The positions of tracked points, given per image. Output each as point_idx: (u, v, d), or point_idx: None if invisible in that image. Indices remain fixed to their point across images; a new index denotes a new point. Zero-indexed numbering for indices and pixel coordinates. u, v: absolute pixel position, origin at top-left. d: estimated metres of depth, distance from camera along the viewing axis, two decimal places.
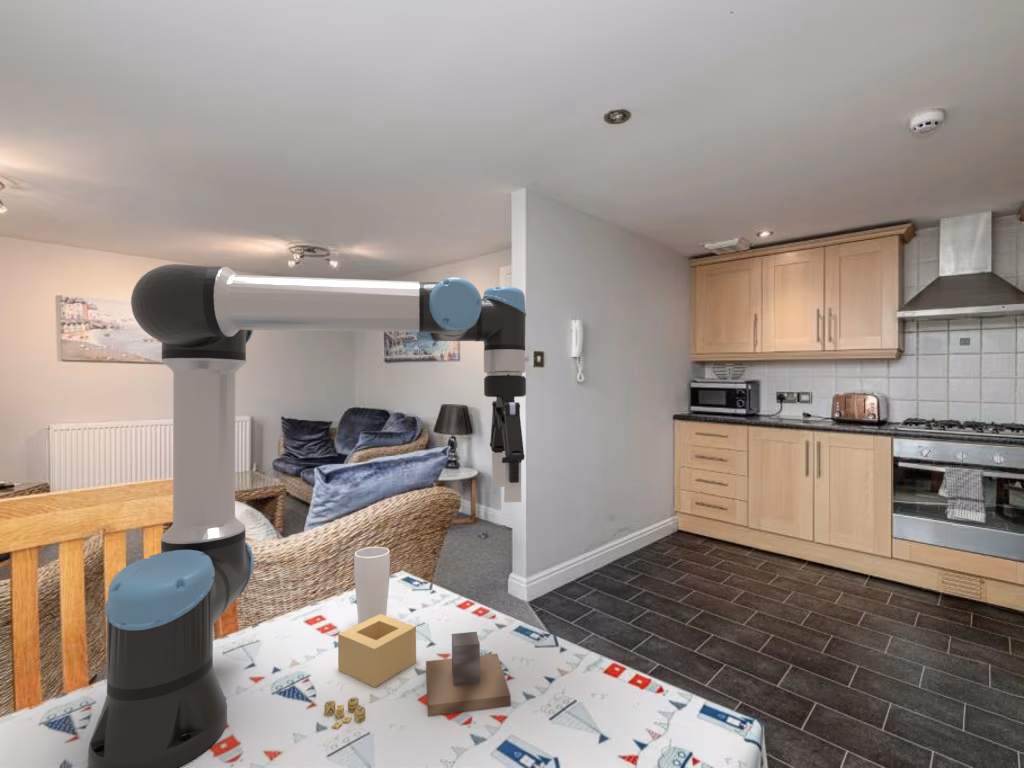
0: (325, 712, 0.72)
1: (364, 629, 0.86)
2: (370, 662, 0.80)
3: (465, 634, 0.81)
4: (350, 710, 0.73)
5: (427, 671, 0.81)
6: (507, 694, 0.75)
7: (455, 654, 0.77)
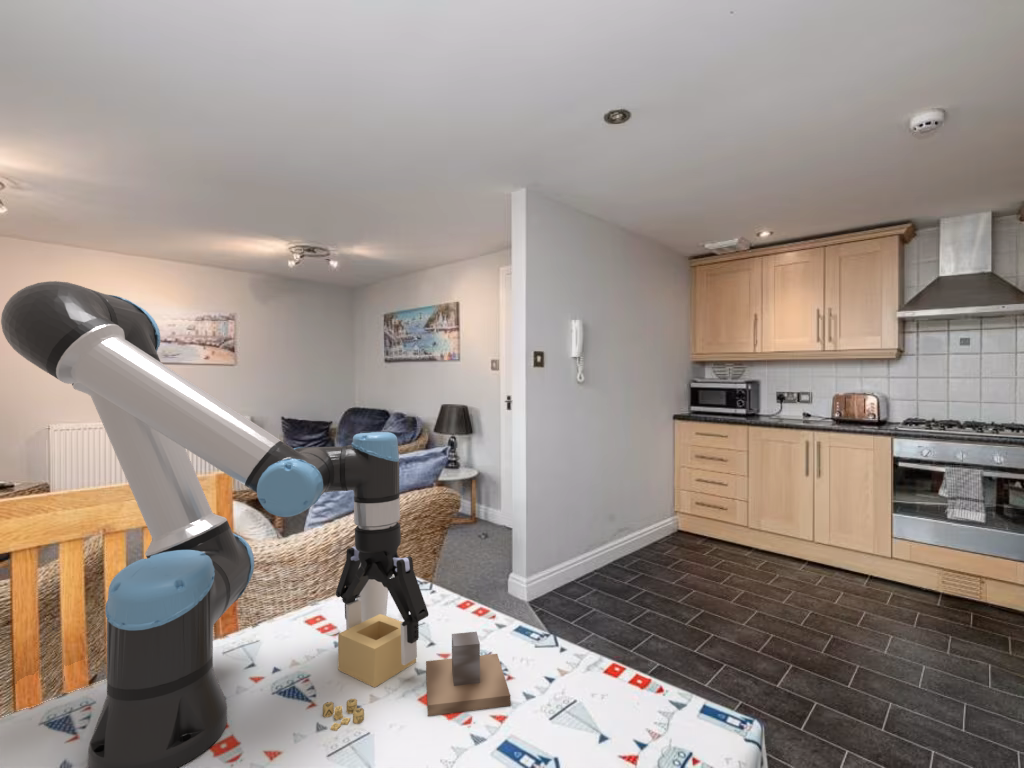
0: (323, 713, 0.72)
1: (364, 629, 0.86)
2: (370, 662, 0.80)
3: (465, 634, 0.81)
4: (349, 711, 0.73)
5: (427, 671, 0.81)
6: (507, 694, 0.75)
7: (455, 654, 0.77)
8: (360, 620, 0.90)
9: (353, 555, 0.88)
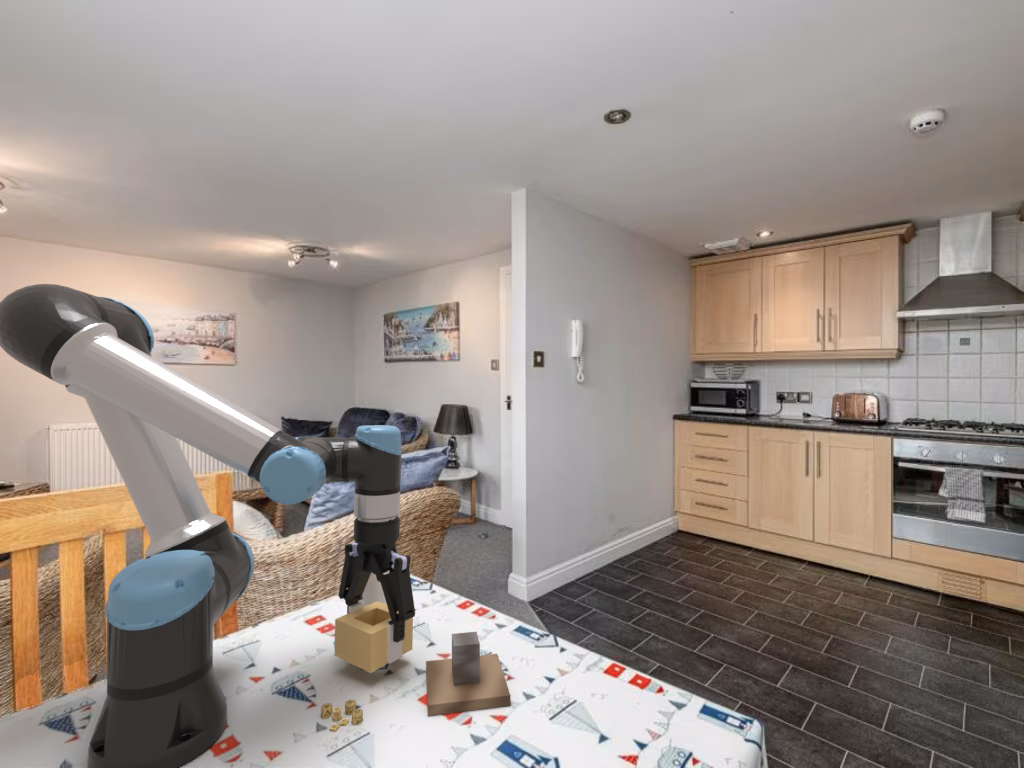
0: (322, 715, 0.72)
1: (361, 615, 0.86)
2: (366, 647, 0.79)
3: (465, 634, 0.81)
4: (347, 712, 0.73)
5: (427, 671, 0.81)
6: (507, 694, 0.75)
7: (455, 654, 0.77)
8: None
9: (351, 551, 0.88)
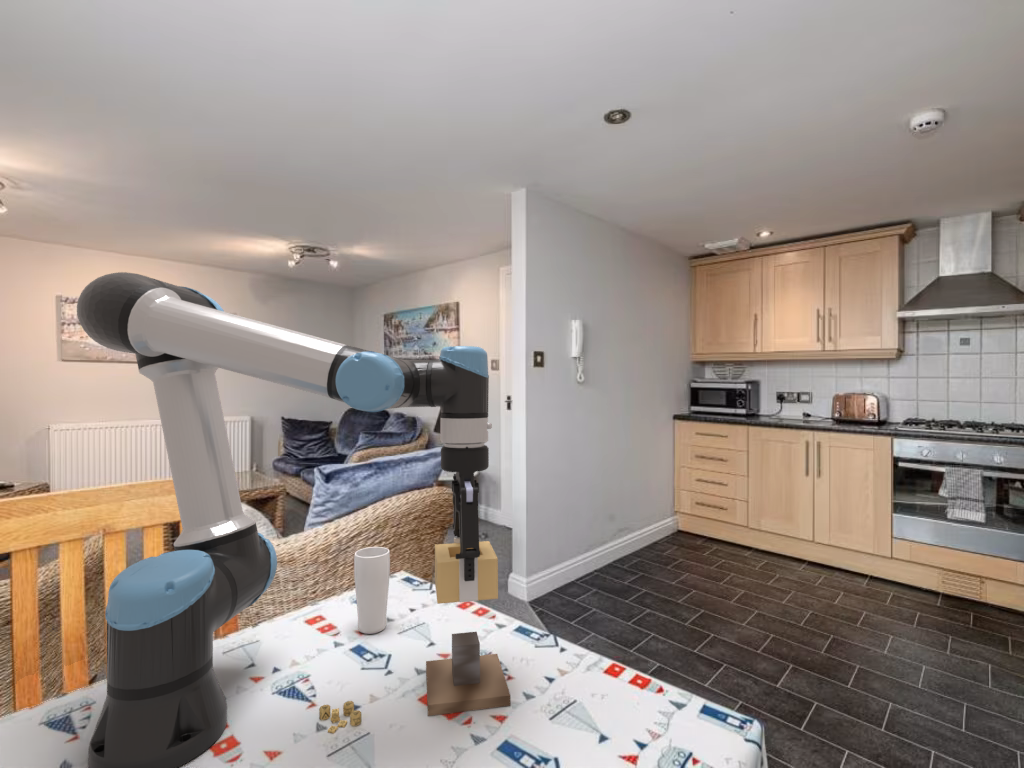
0: (320, 716, 0.71)
1: (459, 548, 0.82)
2: None
3: (465, 634, 0.81)
4: (345, 714, 0.72)
5: (427, 671, 0.81)
6: (507, 694, 0.75)
7: (455, 654, 0.77)
8: None
9: None
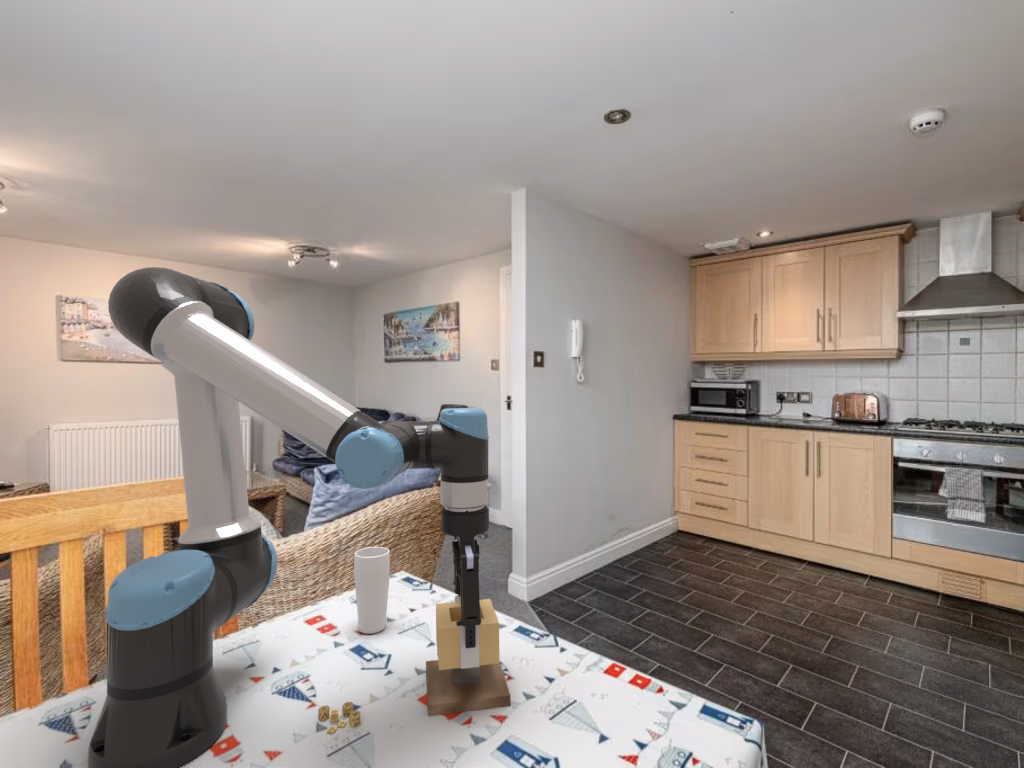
0: (319, 717, 0.71)
1: (460, 608, 0.82)
2: (438, 642, 0.75)
3: None
4: (345, 715, 0.72)
5: (427, 671, 0.81)
6: (507, 694, 0.75)
7: None
8: None
9: (457, 538, 0.85)
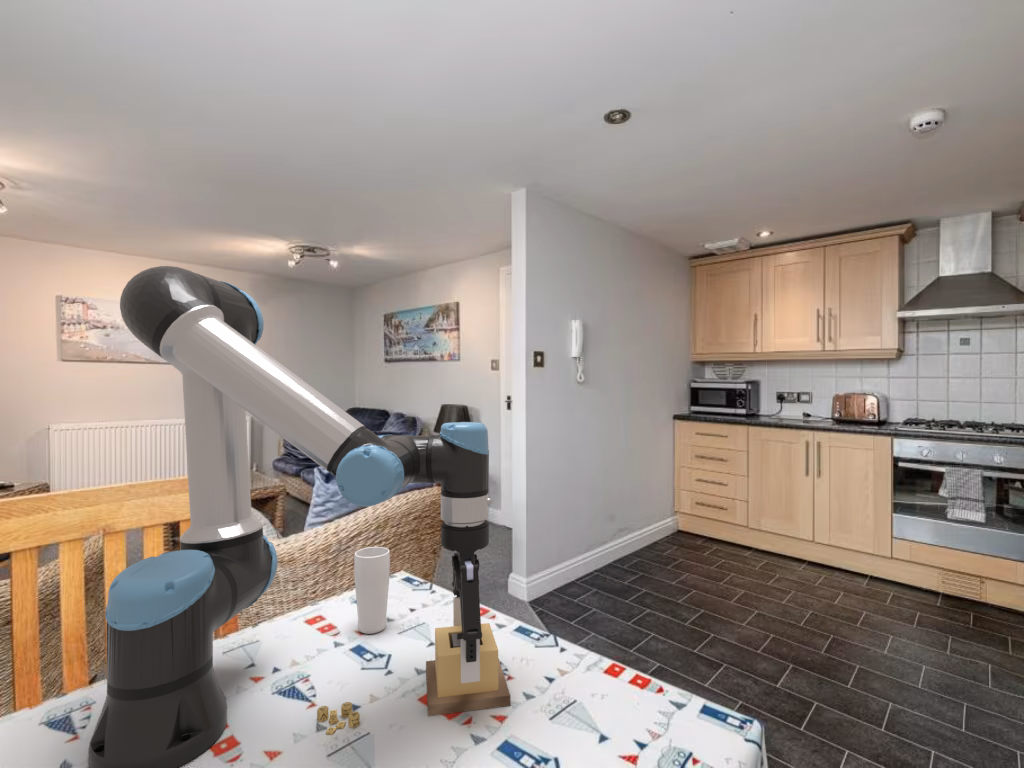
0: (318, 718, 0.71)
1: None
2: (437, 669, 0.75)
3: None
4: (344, 715, 0.72)
5: (427, 671, 0.81)
6: (507, 694, 0.75)
7: None
8: None
9: None
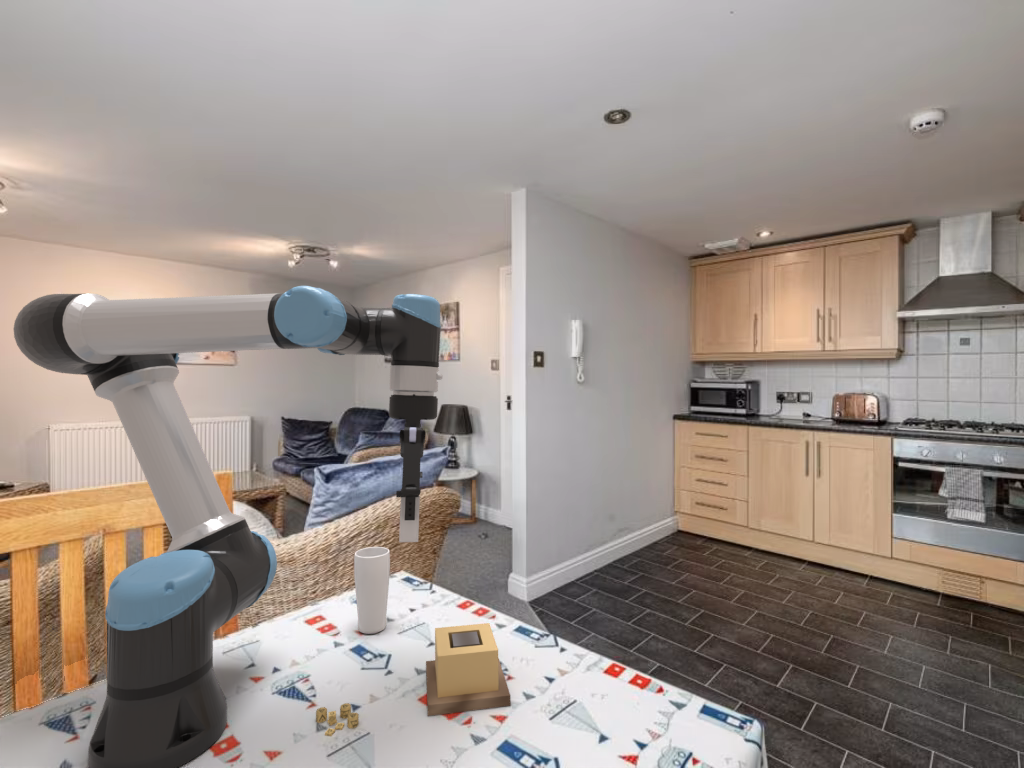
0: (317, 719, 0.71)
1: None
2: (437, 669, 0.75)
3: (465, 634, 0.81)
4: (342, 716, 0.72)
5: (427, 671, 0.81)
6: (507, 694, 0.75)
7: None
8: None
9: None
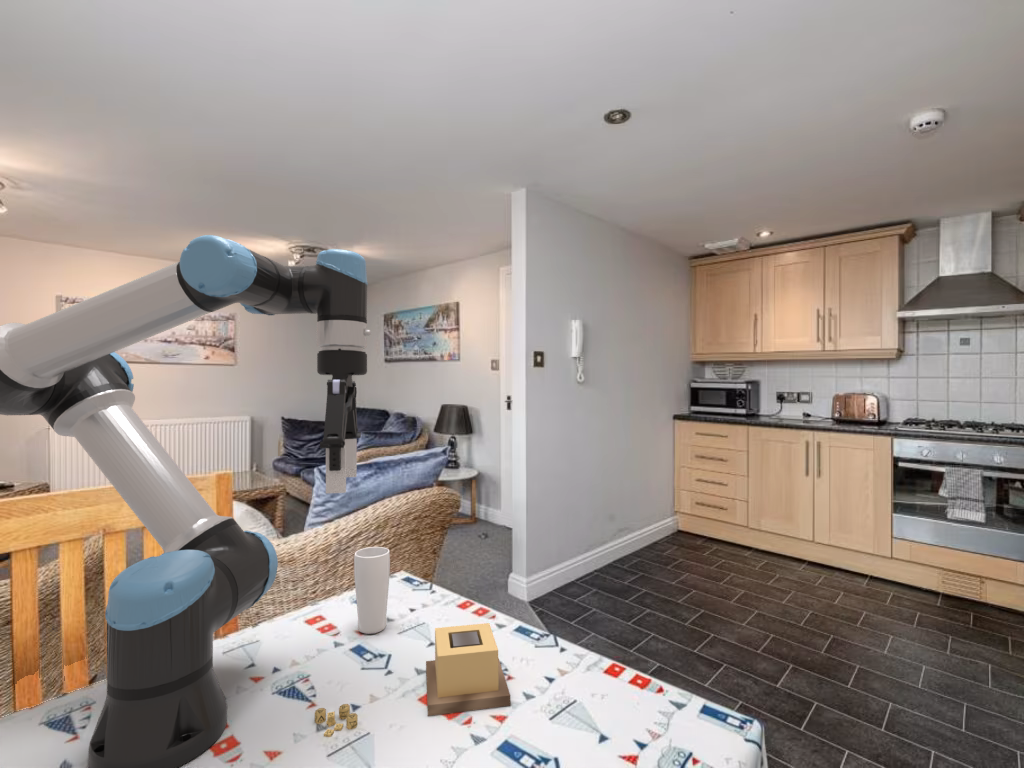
0: (315, 720, 0.71)
1: None
2: (437, 669, 0.75)
3: (465, 634, 0.81)
4: (341, 717, 0.71)
5: (427, 671, 0.81)
6: (507, 694, 0.75)
7: None
8: (354, 459, 0.86)
9: None
